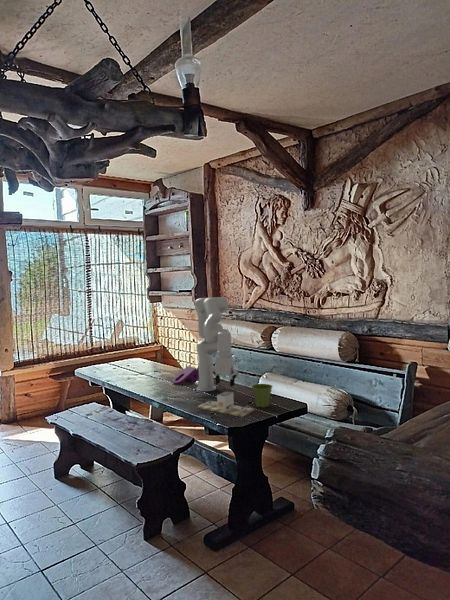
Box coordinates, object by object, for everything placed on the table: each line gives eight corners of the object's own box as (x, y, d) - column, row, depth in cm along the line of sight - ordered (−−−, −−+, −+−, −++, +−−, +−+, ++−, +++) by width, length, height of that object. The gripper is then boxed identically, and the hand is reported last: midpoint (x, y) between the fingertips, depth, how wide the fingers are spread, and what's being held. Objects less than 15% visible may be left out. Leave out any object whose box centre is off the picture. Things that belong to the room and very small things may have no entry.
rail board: (197, 407, 256) (197, 406, 256) (210, 402, 266) (210, 400, 266) (242, 416, 239) (242, 415, 239) (254, 410, 248) (254, 409, 248)
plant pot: (277, 405, 258) (276, 385, 257) (264, 410, 249) (264, 390, 248) (260, 401, 265) (260, 382, 265) (247, 406, 257) (247, 386, 256)
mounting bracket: (182, 393, 308) (200, 377, 318) (178, 383, 305) (196, 367, 315) (174, 391, 314) (191, 375, 325) (169, 381, 311) (187, 365, 322)
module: (216, 409, 250) (216, 394, 249) (226, 404, 257) (226, 391, 256) (224, 410, 247) (223, 396, 246) (233, 406, 254) (233, 392, 254)
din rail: (205, 404, 258) (205, 401, 258) (208, 403, 261) (208, 400, 261) (243, 412, 243) (243, 409, 243) (247, 410, 246) (247, 407, 246)
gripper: (207, 353, 252) (208, 383, 253) (233, 357, 242) (234, 388, 244) (215, 351, 258) (216, 380, 260) (241, 354, 248) (241, 385, 250)
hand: (224, 384), depth 252 cm, fingers open, 9 cm apart
